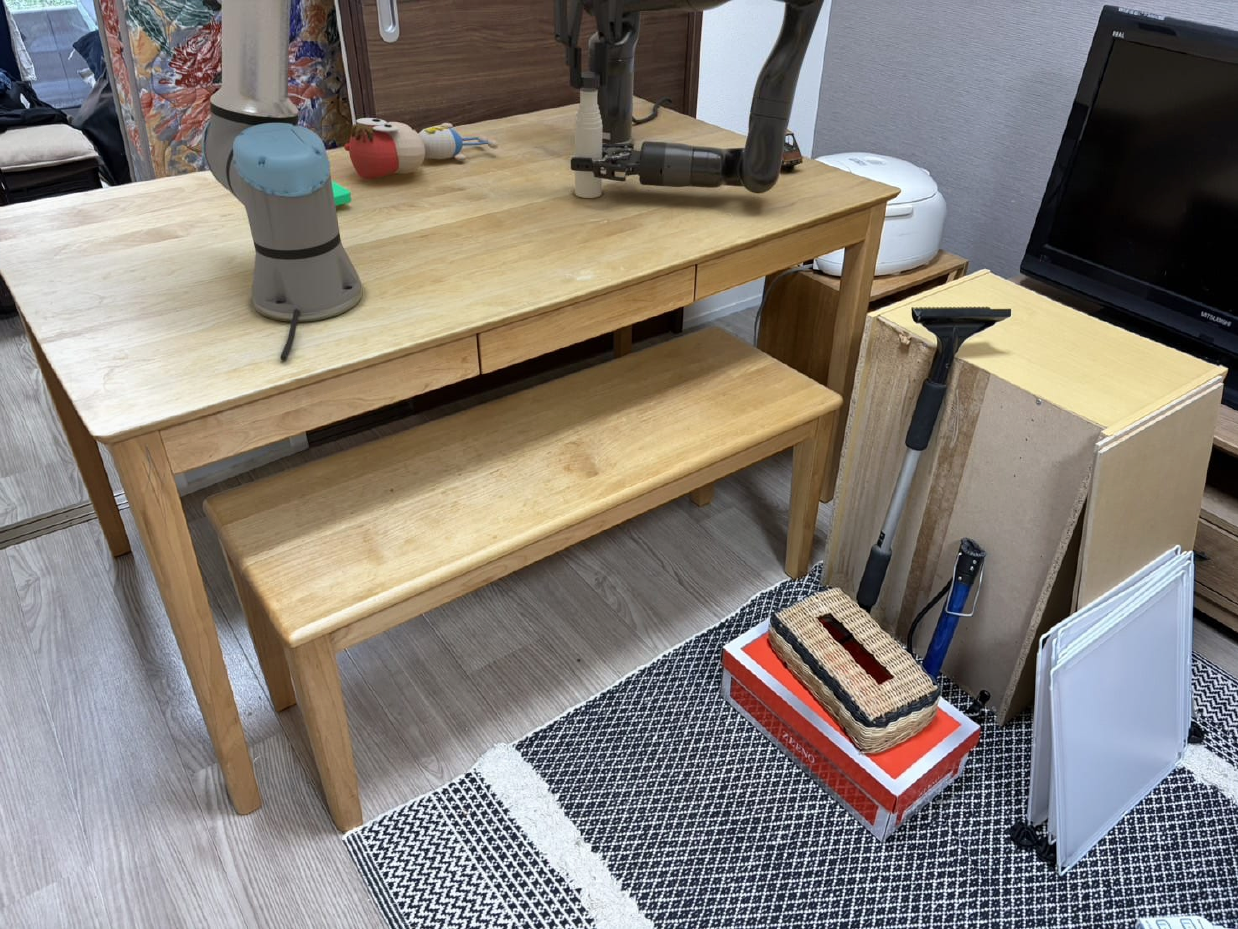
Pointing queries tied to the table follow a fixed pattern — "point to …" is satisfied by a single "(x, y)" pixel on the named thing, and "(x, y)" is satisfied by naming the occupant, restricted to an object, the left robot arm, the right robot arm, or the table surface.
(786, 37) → the right robot arm
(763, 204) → the table surface
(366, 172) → the toy
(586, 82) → the cap
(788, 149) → the toy car
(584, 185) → the bottle
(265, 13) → the left robot arm
